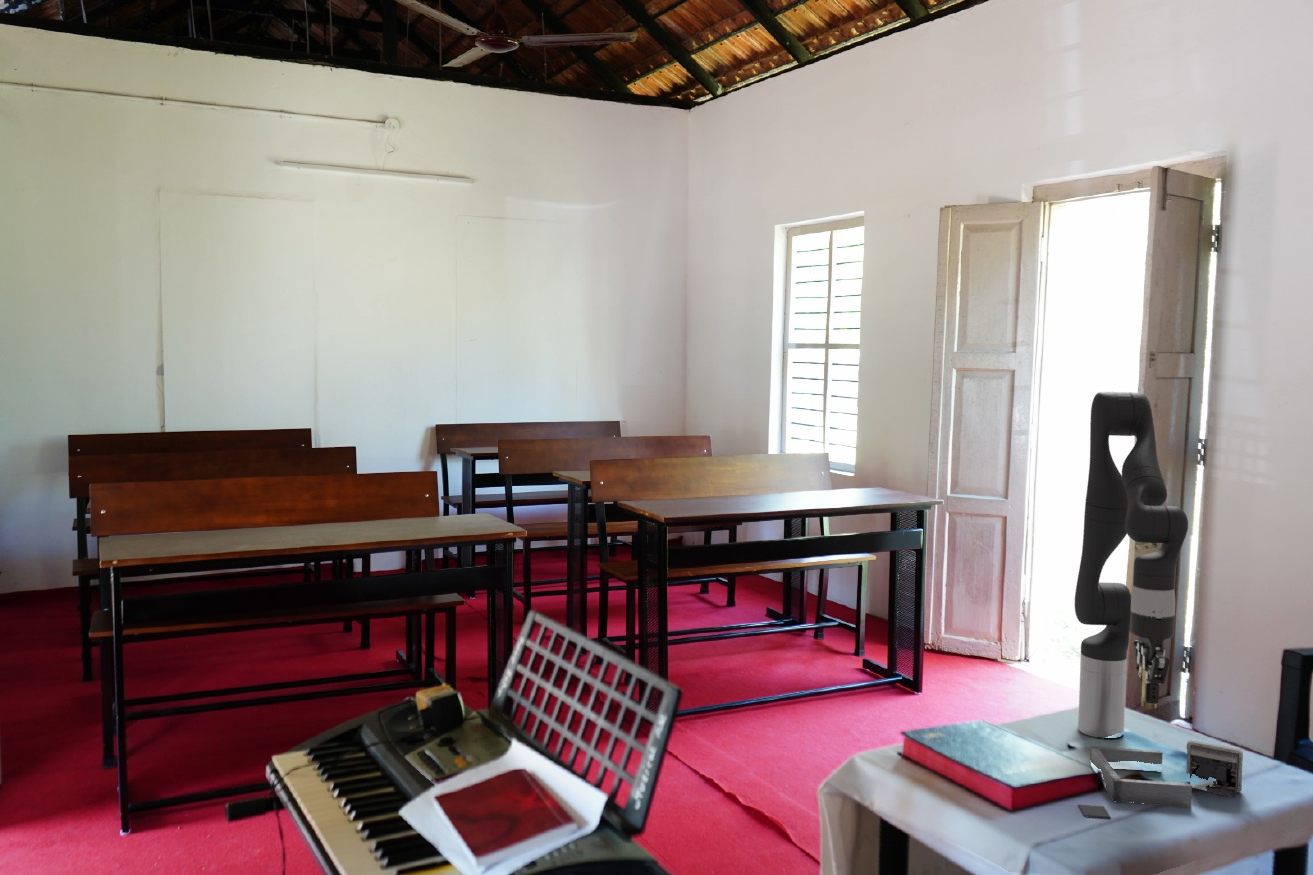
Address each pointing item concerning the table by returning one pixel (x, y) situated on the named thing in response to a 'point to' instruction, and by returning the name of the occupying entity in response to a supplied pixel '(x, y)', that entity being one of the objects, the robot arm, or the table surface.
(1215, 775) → the electrical switch
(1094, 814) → the pad
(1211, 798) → the table surface
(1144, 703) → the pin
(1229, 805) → the table surface
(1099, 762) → the bracket
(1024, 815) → the table surface
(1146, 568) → the robot arm
